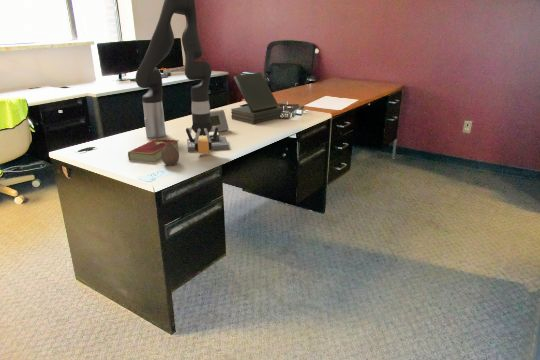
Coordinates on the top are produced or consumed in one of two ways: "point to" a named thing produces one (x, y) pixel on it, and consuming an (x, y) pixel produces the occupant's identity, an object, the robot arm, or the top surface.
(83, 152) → the top surface
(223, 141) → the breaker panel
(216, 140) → the block
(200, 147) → the orange rectangular block
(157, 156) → the hardcover book
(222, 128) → the digital clock
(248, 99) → the angled tablet stand
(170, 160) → the vase
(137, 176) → the top surface
